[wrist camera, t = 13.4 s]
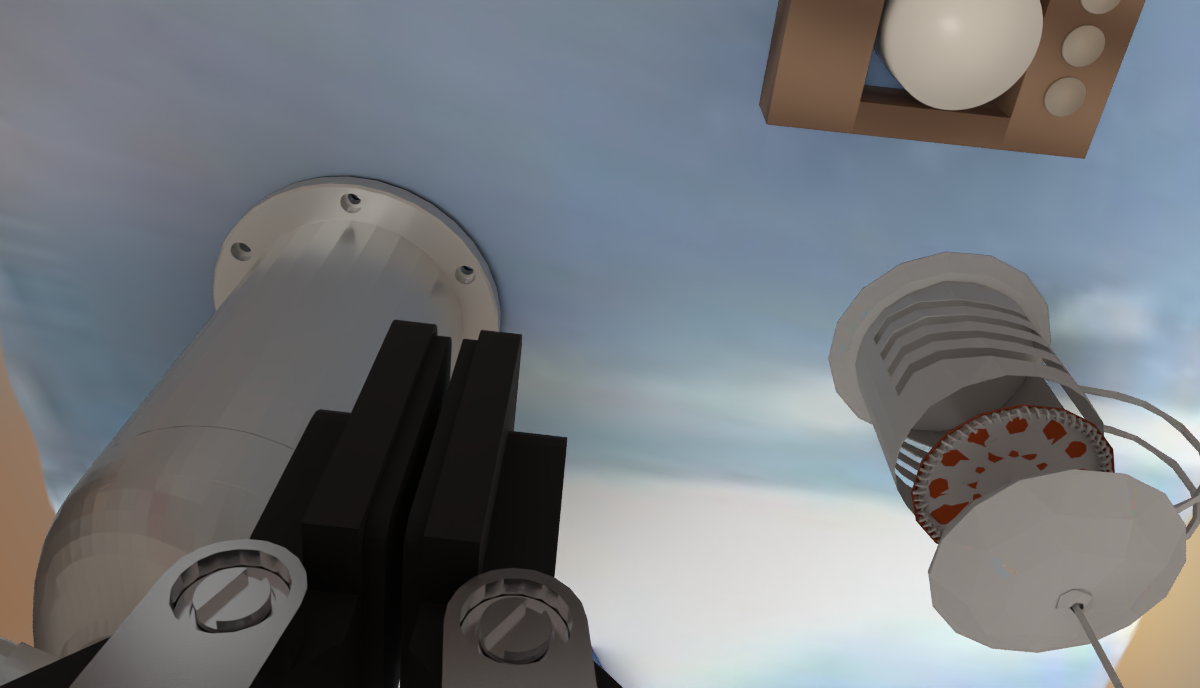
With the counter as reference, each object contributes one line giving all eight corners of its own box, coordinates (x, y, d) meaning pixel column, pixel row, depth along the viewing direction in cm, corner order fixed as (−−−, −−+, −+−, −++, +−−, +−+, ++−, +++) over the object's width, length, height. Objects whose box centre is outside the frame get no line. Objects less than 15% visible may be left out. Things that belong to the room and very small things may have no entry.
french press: (829, 261, 40) (1051, 807, 19) (1109, 237, 39) (1688, 784, 18) (827, 444, 45) (1000, 1040, 24) (1076, 426, 44) (1494, 1033, 23)
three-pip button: (985, 92, 36) (1014, 117, 33) (857, 78, 36) (875, 102, 33) (1029, -47, 33) (1064, -32, 30) (891, -62, 33) (914, -49, 30)
